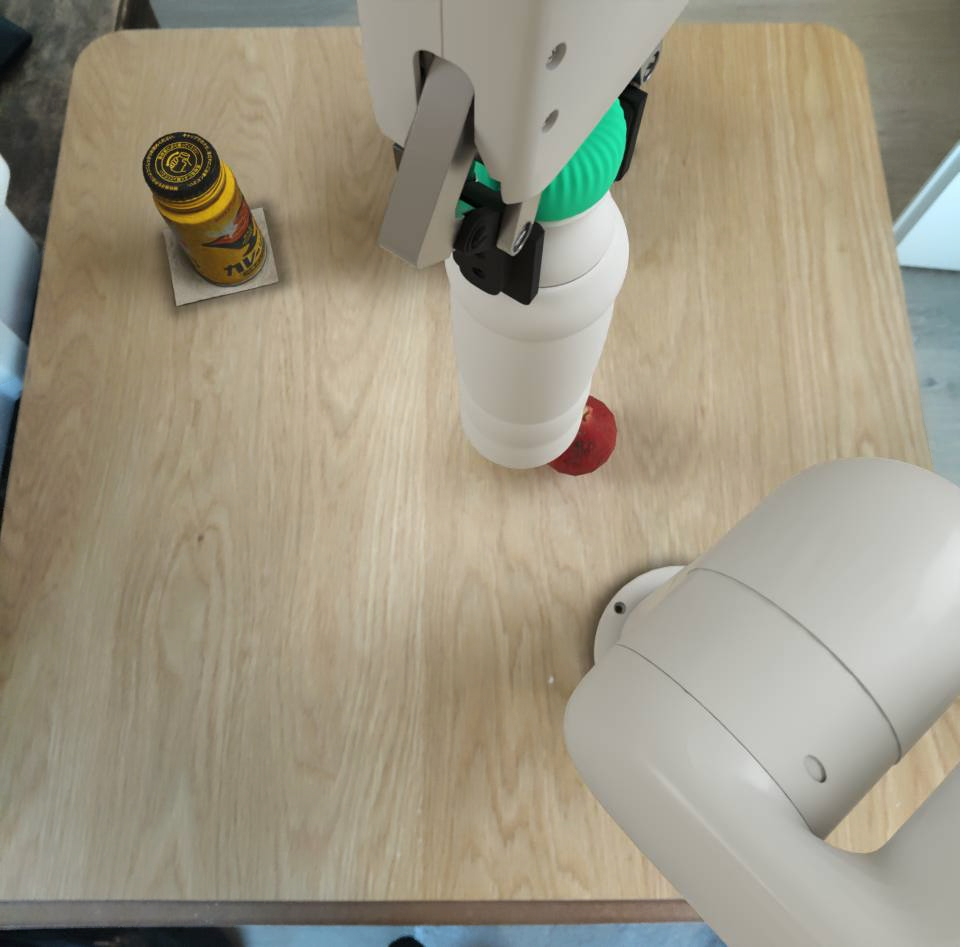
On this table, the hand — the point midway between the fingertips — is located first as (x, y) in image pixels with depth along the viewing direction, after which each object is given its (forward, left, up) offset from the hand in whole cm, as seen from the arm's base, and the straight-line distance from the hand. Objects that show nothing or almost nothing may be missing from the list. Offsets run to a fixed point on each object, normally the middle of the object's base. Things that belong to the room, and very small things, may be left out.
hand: (542, 215), depth 28 cm
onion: (-2, -4, -34) cm, 34 cm away
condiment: (+31, -1, -34) cm, 46 cm away
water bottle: (0, 0, -20) cm, 20 cm away
